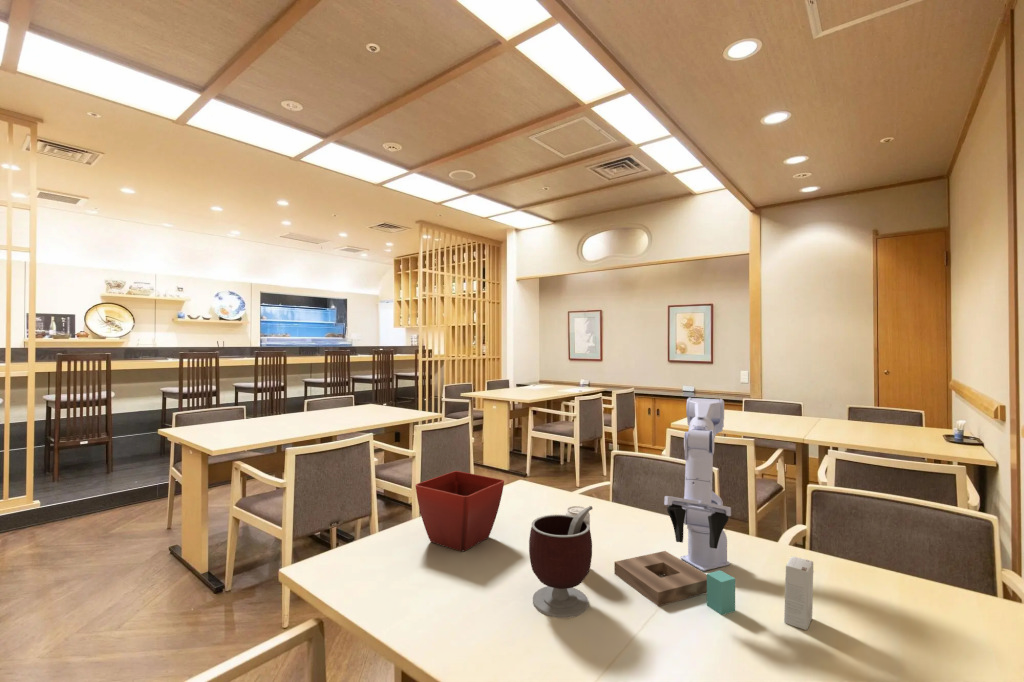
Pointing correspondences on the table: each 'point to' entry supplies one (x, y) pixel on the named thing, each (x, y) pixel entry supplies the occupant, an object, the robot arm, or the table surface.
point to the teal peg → (721, 592)
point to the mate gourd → (560, 562)
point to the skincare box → (798, 592)
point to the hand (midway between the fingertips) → (696, 545)
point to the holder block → (664, 590)
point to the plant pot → (459, 508)
